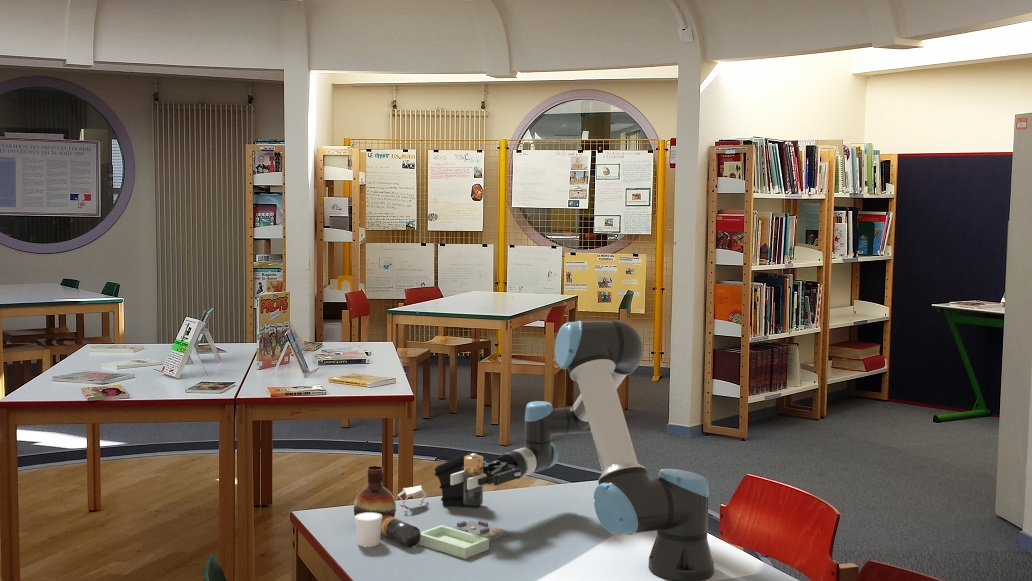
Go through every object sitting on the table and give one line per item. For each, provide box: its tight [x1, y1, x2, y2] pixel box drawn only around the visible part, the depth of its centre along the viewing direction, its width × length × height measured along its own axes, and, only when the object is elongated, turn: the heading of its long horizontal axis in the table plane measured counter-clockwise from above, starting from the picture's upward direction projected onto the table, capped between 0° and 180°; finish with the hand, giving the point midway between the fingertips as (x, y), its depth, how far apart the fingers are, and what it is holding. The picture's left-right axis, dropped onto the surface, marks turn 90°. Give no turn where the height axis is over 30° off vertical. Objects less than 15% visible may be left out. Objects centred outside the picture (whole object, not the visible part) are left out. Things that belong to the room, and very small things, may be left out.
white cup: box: [354, 512, 382, 547], centre depth 232 cm, size 7×7×7 cm
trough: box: [416, 524, 490, 560], centre depth 231 cm, size 16×9×3 cm, turn 52°
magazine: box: [433, 452, 481, 509], centre depth 264 cm, size 4×13×15 cm, turn 83°
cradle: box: [452, 520, 507, 542], centre depth 240 cm, size 12×9×2 cm
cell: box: [464, 452, 485, 506], centre depth 241 cm, size 5×5×13 cm
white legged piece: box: [397, 485, 427, 513], centre depth 262 cm, size 12×8×5 cm
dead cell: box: [381, 515, 421, 548], centre depth 234 cm, size 13×5×5 cm, turn 42°
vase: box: [353, 465, 397, 518], centre depth 246 cm, size 11×11×15 cm
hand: (459, 482), depth 236 cm, fingers closed on cell, 5 cm apart
